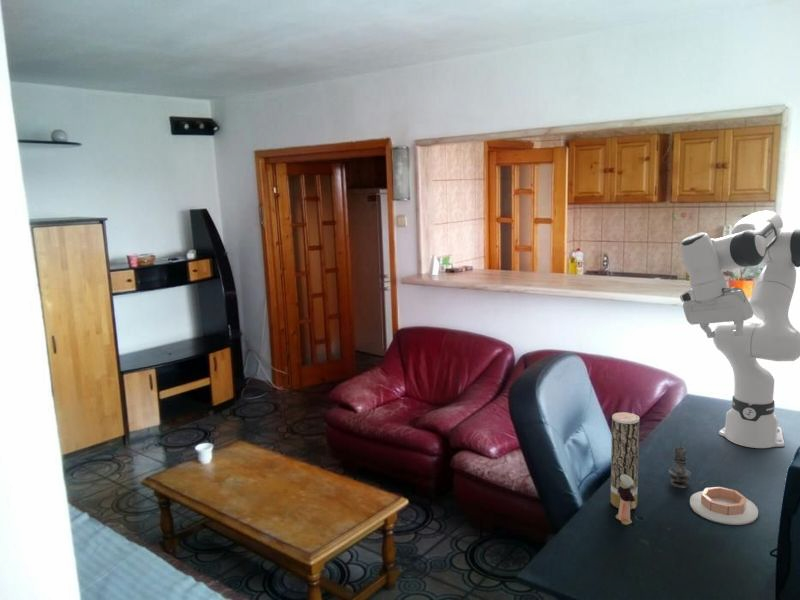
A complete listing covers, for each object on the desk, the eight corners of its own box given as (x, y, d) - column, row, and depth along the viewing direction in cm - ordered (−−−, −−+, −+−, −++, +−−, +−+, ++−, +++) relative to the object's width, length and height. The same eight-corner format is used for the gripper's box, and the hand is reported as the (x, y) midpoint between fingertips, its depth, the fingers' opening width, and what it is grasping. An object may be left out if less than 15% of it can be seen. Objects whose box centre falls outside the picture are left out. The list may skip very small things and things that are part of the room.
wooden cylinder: (606, 505, 169) (607, 418, 165) (617, 495, 174) (618, 410, 170) (630, 513, 165) (633, 424, 160) (641, 503, 170) (643, 416, 165)
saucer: (698, 488, 176) (698, 476, 176) (762, 504, 167) (763, 491, 166) (682, 512, 164) (683, 500, 163) (751, 531, 154) (752, 518, 154)
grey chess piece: (692, 489, 176) (694, 449, 174) (670, 488, 177) (672, 448, 175) (687, 479, 182) (689, 440, 179) (666, 478, 183) (667, 439, 181)
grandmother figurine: (608, 515, 164) (609, 470, 162) (619, 512, 166) (620, 467, 163) (629, 530, 157) (631, 483, 155) (641, 526, 159) (642, 479, 157)
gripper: (749, 282, 168) (765, 331, 169) (690, 290, 187) (705, 334, 188) (733, 289, 166) (749, 338, 166) (675, 297, 185) (689, 341, 185)
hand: (725, 336), depth 177 cm, fingers open, 8 cm apart
